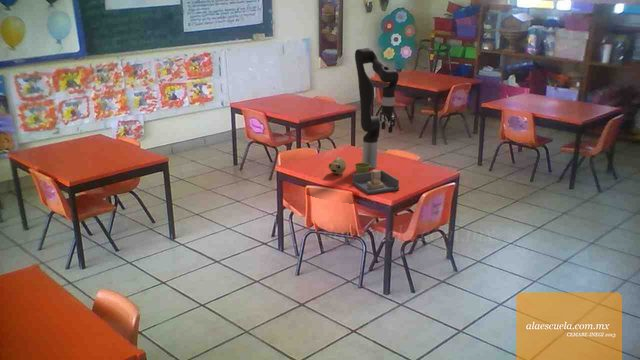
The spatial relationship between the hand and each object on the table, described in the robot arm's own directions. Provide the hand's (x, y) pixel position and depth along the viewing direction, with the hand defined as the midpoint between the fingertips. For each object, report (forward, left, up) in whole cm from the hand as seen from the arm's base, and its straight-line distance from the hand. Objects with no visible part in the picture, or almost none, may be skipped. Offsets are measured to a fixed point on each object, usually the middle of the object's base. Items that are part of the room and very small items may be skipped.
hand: (386, 130), depth 356 cm
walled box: (+12, -13, -30) cm, 35 cm away
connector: (+12, -13, -29) cm, 34 cm away
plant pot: (-5, -13, -30) cm, 33 cm away
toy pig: (-18, -24, -30) cm, 42 cm away
